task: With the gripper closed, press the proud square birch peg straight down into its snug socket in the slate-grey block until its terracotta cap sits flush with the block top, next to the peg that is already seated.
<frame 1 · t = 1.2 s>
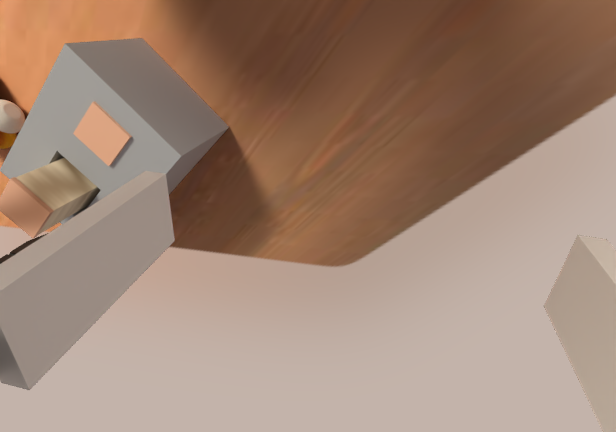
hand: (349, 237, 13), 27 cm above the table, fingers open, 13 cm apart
socket block: (148, 134, 43), on the table
peg: (64, 188, 36), point 11 cm above the table, slide at 5.0 cm
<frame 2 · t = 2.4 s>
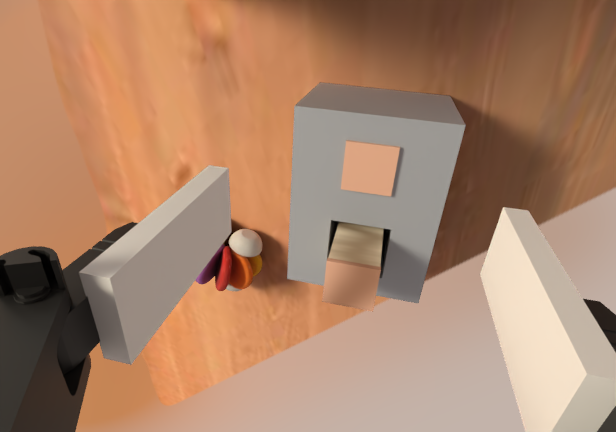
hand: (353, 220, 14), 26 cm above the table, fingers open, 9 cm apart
rainbow disc toy: (231, 244, 49), on the table
socket block: (371, 169, 40), on the table
peg: (356, 253, 32), point 11 cm above the table, slide at 5.0 cm
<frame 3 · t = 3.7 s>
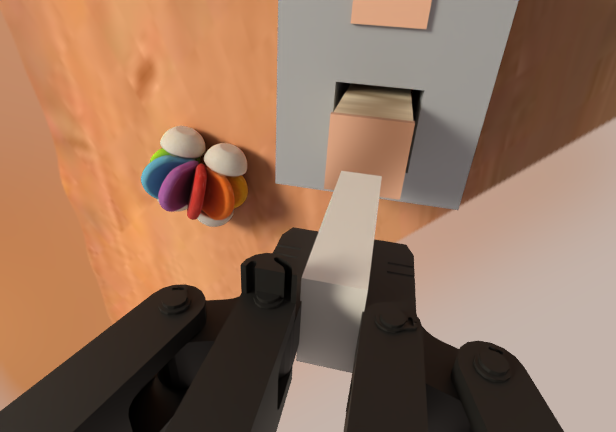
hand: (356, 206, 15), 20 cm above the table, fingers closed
rainbow disc toy: (209, 169, 39), on the table
socket block: (388, 48, 30), on the table
peg: (372, 131, 23), point 11 cm above the table, slide at 5.0 cm
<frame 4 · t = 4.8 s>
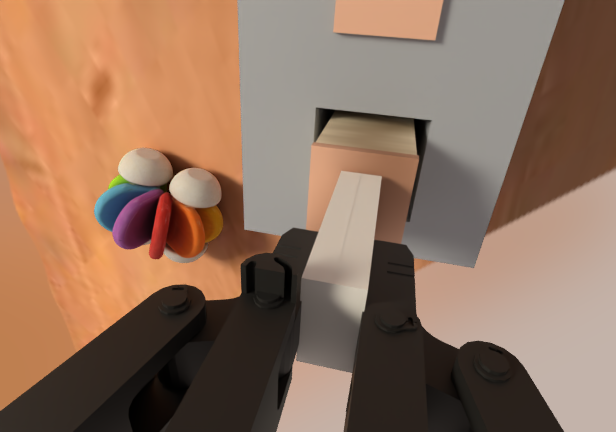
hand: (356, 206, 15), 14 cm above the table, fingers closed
rainbow disc toy: (179, 196, 34), on the table
socket block: (385, 59, 25), on the table
peg: (366, 159, 19), point 9 cm above the table, slide at 3.4 cm, touching gripper
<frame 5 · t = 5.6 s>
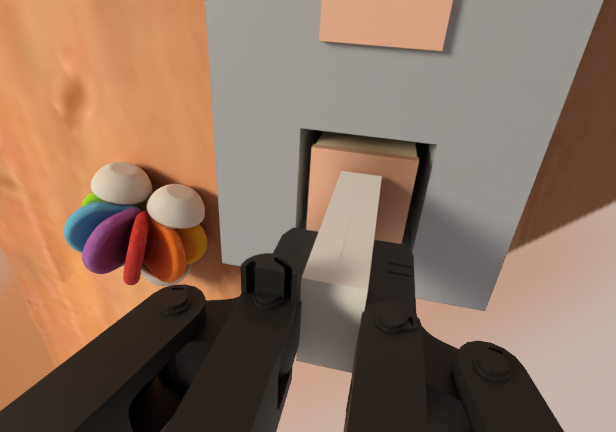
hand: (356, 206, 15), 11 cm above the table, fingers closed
rainbow disc toy: (161, 212, 31), on the table
socket block: (383, 68, 22), on the table
peg: (366, 161, 19), point 6 cm above the table, slide at 0.4 cm, touching gripper
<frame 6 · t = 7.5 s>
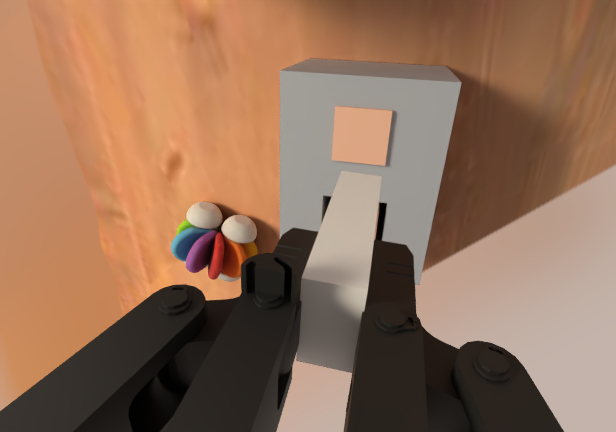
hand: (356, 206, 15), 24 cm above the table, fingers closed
rainbow disc toy: (225, 233, 47), on the table
socket block: (366, 149, 38), on the table
peg: (357, 206, 34), point 6 cm above the table, slide at 0.4 cm
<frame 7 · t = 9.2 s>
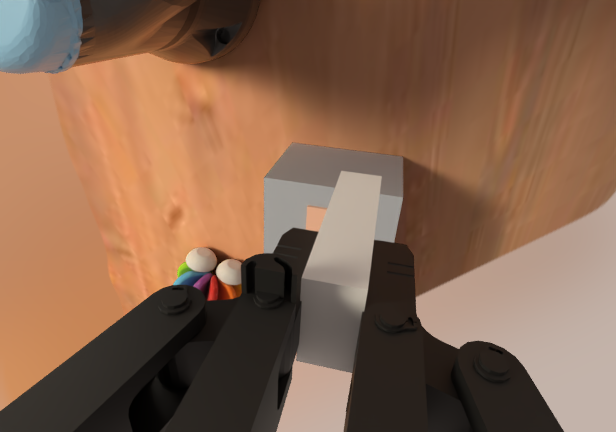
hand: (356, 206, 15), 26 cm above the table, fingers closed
rainbow disc toy: (219, 271, 54), on the table
socket block: (339, 214, 45), on the table
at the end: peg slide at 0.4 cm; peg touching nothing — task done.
